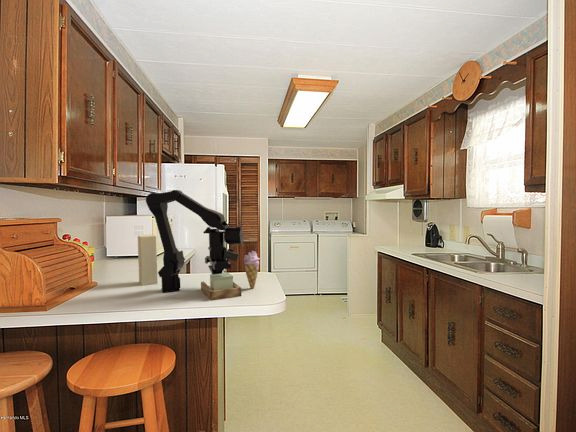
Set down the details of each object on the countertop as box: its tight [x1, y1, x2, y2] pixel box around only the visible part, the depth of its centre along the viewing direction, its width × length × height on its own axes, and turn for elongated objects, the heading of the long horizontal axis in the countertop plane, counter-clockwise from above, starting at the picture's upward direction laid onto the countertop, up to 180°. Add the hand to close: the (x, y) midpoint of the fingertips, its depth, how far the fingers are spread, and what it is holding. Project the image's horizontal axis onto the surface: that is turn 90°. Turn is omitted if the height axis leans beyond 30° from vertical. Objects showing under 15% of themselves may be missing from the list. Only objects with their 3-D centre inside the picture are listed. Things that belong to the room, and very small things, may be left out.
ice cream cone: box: [243, 250, 261, 290], centre depth 139 cm, size 7×6×15 cm
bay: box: [200, 281, 243, 301], centre depth 135 cm, size 11×18×3 cm, turn 24°
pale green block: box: [209, 272, 234, 291], centre depth 133 cm, size 7×7×6 cm
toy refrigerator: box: [137, 234, 159, 286], centre depth 154 cm, size 8×7×21 cm
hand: (217, 283), depth 138 cm, fingers closed
